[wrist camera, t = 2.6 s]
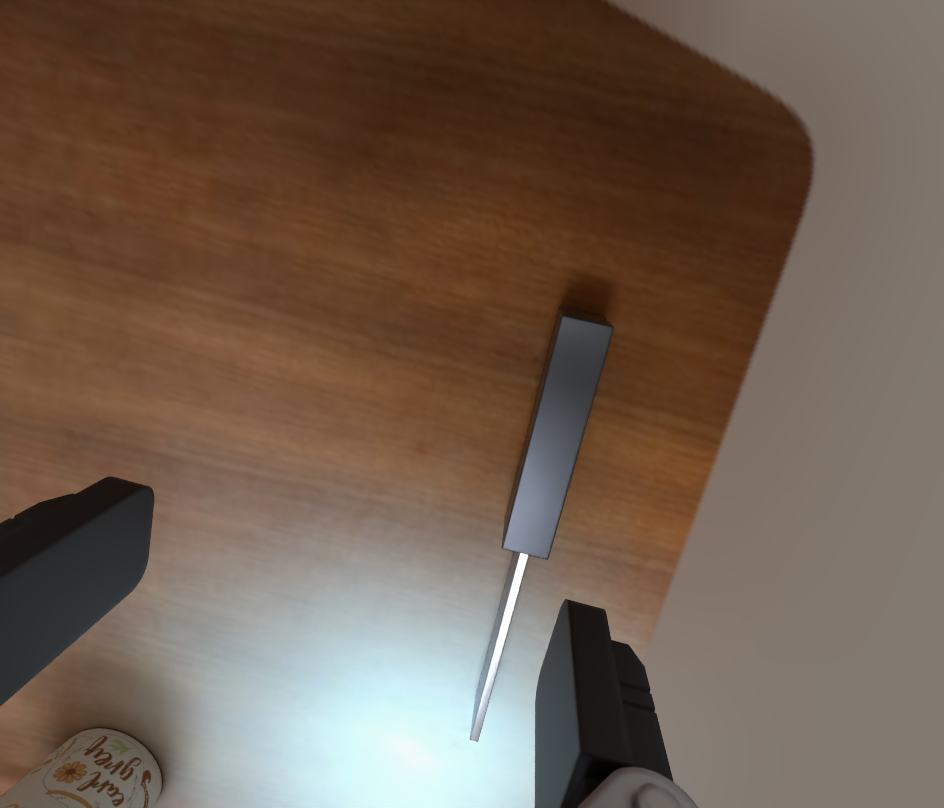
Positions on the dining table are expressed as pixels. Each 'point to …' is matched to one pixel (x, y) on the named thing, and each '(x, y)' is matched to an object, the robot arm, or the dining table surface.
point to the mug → (91, 775)
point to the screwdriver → (546, 465)
